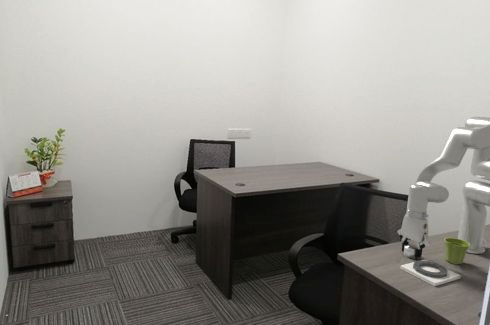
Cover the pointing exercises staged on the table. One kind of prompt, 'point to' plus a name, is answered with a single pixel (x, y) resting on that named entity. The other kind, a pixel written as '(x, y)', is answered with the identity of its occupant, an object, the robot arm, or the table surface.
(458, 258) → the plant pot
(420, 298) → the table surface
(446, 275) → the mounted pipe fitting
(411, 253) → the cap
